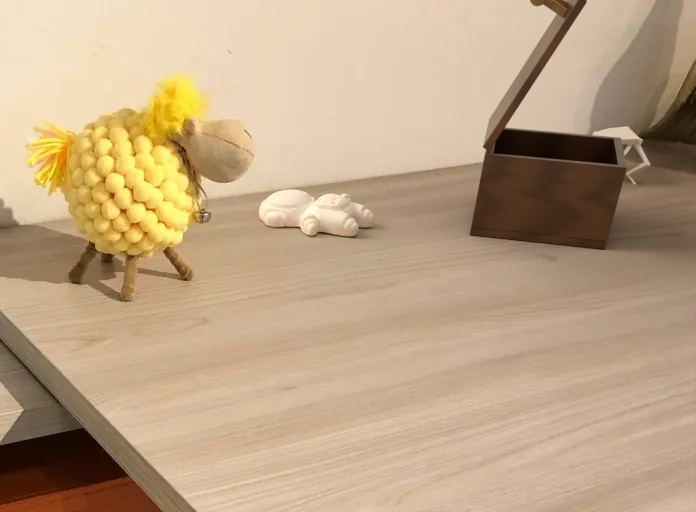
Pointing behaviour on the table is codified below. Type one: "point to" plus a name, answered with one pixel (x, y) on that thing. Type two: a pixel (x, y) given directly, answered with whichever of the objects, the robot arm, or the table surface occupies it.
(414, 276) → the table surface
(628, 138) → the origami figure
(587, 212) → the chest
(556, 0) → the lid
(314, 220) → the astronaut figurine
